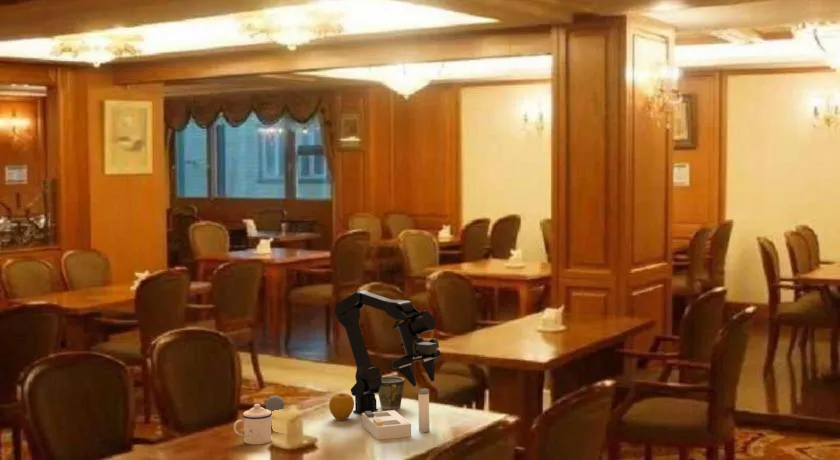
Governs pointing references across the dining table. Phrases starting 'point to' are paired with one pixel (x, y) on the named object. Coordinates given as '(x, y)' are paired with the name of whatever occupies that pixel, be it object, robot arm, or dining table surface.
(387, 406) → the ceramic cup
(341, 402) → the apple
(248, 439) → the teacup with lid
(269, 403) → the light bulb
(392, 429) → the socket board
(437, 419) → the dining table surface
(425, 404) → the plug
